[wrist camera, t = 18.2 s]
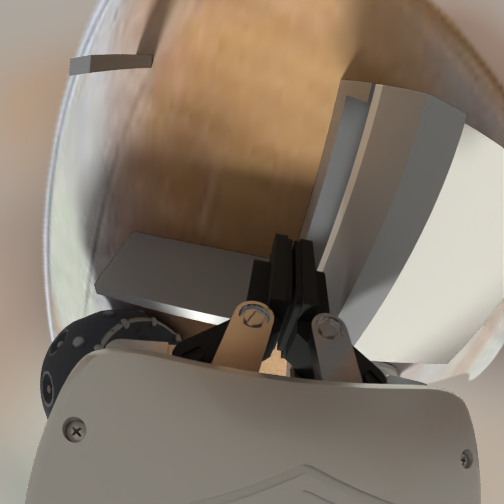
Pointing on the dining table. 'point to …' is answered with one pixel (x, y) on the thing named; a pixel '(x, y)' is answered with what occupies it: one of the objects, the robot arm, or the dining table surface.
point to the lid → (417, 232)
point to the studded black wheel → (95, 344)
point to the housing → (218, 260)
